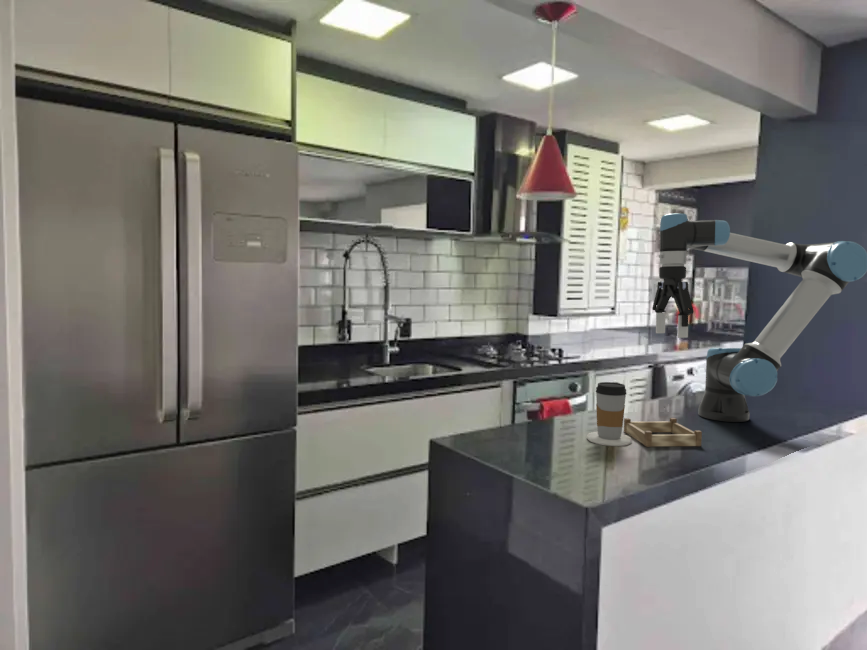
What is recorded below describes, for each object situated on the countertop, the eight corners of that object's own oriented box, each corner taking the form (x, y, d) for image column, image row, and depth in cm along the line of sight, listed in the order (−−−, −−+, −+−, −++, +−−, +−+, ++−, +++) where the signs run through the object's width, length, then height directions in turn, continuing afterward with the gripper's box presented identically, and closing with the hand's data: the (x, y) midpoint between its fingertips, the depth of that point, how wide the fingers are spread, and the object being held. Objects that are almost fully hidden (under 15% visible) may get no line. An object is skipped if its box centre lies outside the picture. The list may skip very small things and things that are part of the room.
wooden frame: (673, 431, 170) (674, 417, 170) (701, 446, 155) (701, 431, 155) (623, 431, 169) (624, 418, 169) (646, 446, 154) (646, 432, 154)
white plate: (621, 433, 167) (621, 431, 166) (638, 446, 155) (638, 443, 155) (581, 434, 166) (581, 431, 166) (595, 446, 154) (595, 443, 154)
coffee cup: (626, 442, 155) (628, 388, 154) (594, 440, 157) (597, 386, 156) (622, 434, 163) (625, 382, 162) (592, 432, 165) (594, 381, 164)
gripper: (642, 266, 184) (641, 331, 186) (682, 264, 160) (680, 339, 161) (664, 266, 185) (663, 331, 187) (707, 264, 160) (705, 339, 162)
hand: (671, 335), depth 174 cm, fingers open, 13 cm apart
